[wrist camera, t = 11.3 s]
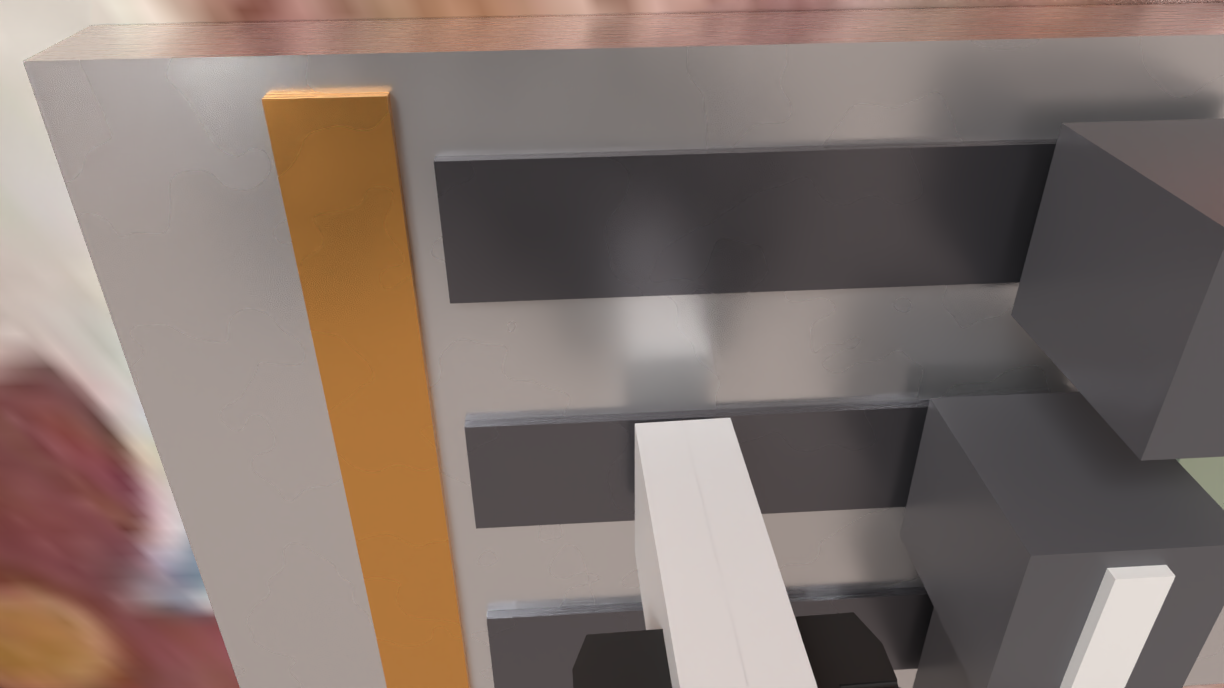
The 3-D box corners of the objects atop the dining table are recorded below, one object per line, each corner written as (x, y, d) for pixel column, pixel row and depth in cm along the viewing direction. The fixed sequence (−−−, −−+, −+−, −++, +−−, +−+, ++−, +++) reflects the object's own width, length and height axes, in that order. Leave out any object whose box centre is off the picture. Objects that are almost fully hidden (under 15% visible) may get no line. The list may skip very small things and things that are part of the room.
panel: (282, 664, 20) (256, 752, 18) (90, 25, 13) (14, 65, 11) (1213, 610, 22) (1277, 688, 20) (1522, -4, 14) (1670, 28, 12)
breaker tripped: (899, 535, 16) (987, 717, 13) (930, 397, 14) (1037, 566, 11) (1062, 526, 16) (1188, 703, 13) (1110, 390, 15) (1266, 555, 11)
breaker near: (1011, 315, 14) (1149, 471, 11) (1062, 122, 12) (1243, 240, 9) (1199, 307, 14) (1392, 460, 11) (1274, 117, 12) (1525, 229, 9)
